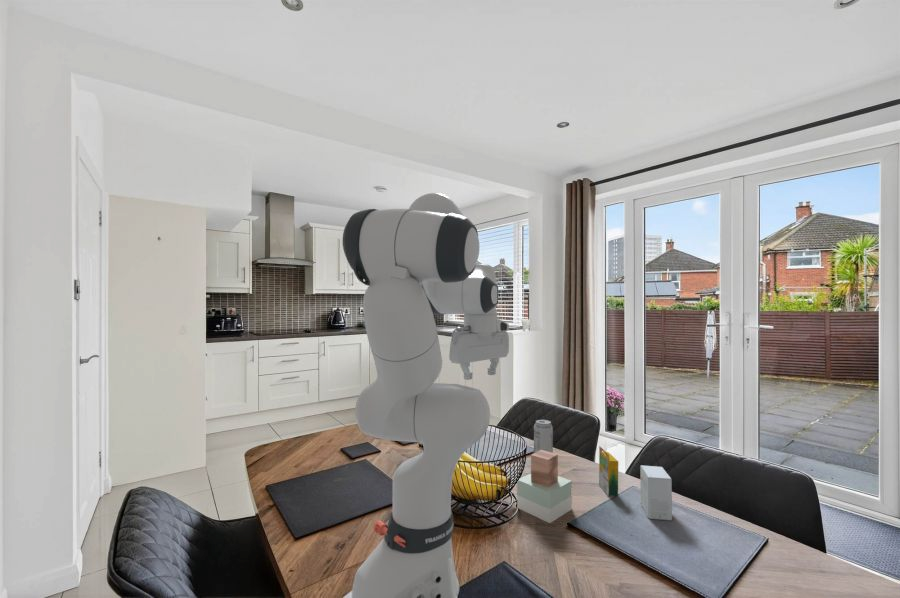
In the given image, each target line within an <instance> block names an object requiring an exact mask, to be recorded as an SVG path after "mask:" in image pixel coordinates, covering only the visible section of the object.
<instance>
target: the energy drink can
mask: <svg viewBox="0 0 900 598" xmlns="http://www.w3.org/2000/svg"><path fill="white" fill-rule="evenodd" d="M553 433H554V427H553V426H552V422H551V420H548V419H536V420H535V423H534V425H533V454H534V453H536V452H537V451H539V450H544V451H547V452H551V453H554V449H553V448H554V445H553V444H554V438H553Z"/></svg>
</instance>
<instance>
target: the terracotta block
mask: <svg viewBox="0 0 900 598" xmlns="http://www.w3.org/2000/svg"><path fill="white" fill-rule="evenodd" d="M558 456H559V455H558V453H554V452H553V453H551V452H547V451H544V450H539V451H537V452H536V453H534V452H533V453H532V454H531V455H530V473H531V482H533V483H536V484H539V485H542V486H545V487H550V486H551V485H553V484H554V483H556V482H557V481H558V476H559V457H558Z"/></svg>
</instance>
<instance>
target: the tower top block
mask: <svg viewBox="0 0 900 598" xmlns="http://www.w3.org/2000/svg"><path fill="white" fill-rule="evenodd" d="M518 479H519V480H518ZM518 479H517V480H518V481H517V480H516V484H517V485H516V487H517V488H516V490H517V491H516V496H517V497H518V496H521V497H523V498H525V499H528V500H530V501H532V502H534V503H537V504H539V505H541V506H544V507H546V508H548V509H551V508H552V507H554V506H556V505H557V504H559V503H561V502H562V501H564V500H566V499H567V498H569V497H571V496H572V480H570V479H568V478H565V477H562V476H559V475H558V481H557V482H556V483H554V484H553V485H551V486H550V487H545V486H542V485H539V484H536V483H533V482H531V472H530V473H528V474H527V475H524V476H522V477H520V478H518Z"/></svg>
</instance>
